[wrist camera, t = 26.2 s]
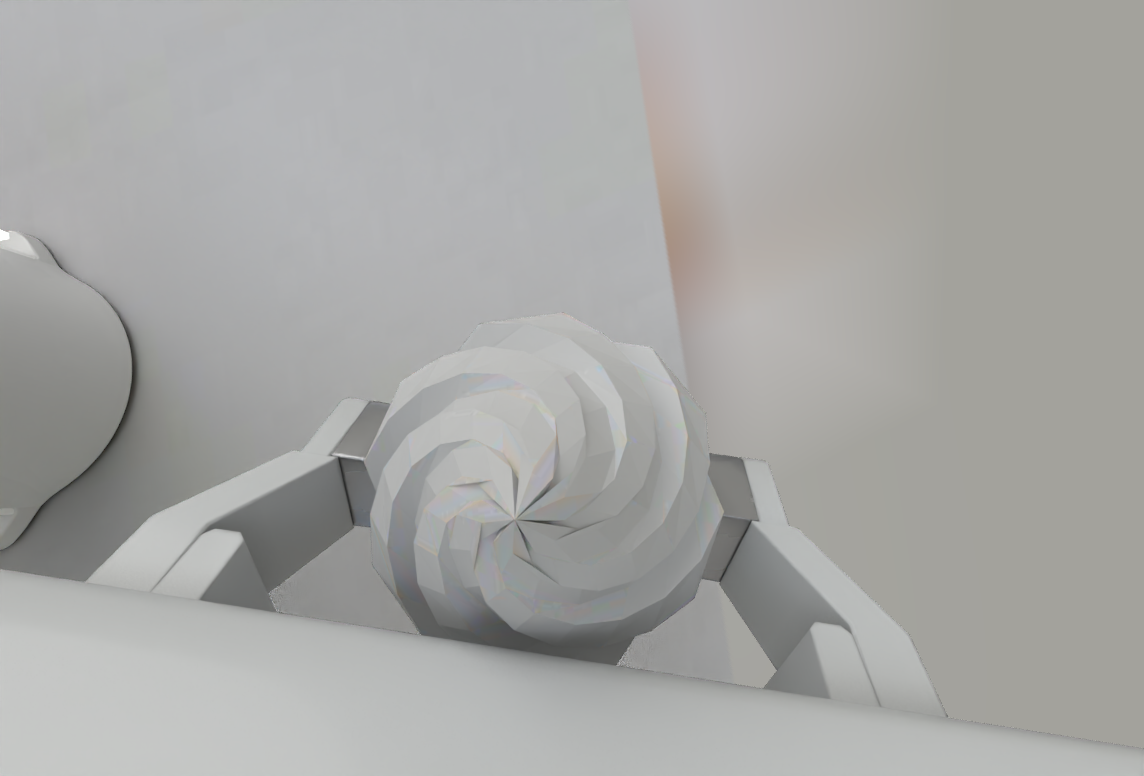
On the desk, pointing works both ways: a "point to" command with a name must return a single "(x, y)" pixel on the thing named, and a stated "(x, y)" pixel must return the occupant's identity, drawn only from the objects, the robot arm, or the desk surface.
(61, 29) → the desk surface
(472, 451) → the ice cream cone
